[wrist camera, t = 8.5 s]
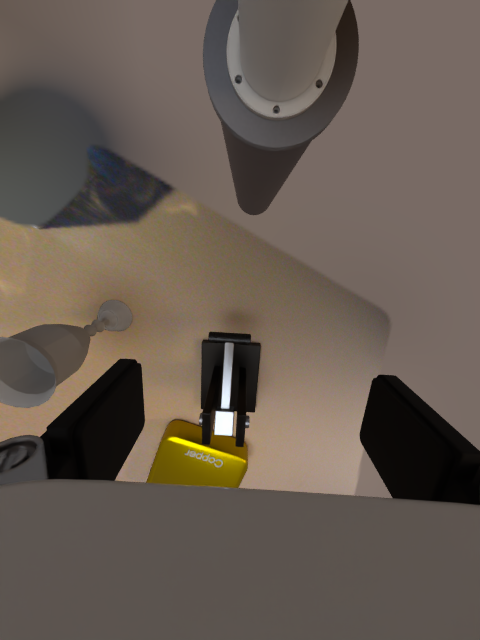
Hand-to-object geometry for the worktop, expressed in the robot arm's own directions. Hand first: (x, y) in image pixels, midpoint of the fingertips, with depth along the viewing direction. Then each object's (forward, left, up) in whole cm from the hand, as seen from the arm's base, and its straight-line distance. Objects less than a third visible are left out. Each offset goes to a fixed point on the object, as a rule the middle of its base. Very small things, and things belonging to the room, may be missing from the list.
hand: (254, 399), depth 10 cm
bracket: (+15, -2, -28) cm, 32 cm away
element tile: (+33, -7, -28) cm, 44 cm away
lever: (+11, -2, -20) cm, 23 cm away
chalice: (+6, -20, -28) cm, 35 cm away
